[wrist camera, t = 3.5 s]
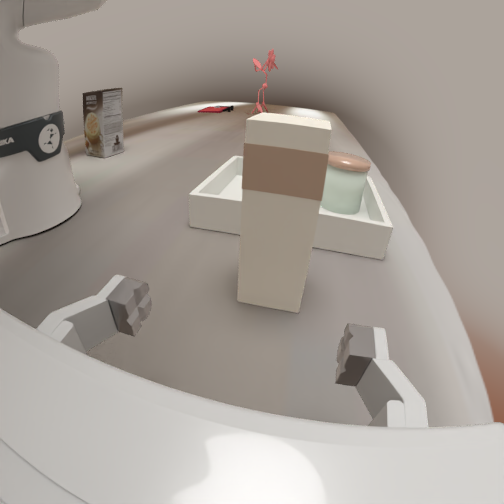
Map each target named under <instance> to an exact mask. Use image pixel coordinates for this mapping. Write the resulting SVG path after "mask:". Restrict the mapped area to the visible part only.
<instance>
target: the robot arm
mask: <svg viewBox="0 0 504 504" xmlns="http://www.w3.org/2000/svg"><path fill="white" fill-rule="evenodd" d="M106 1H107V0H0V245H1V244H3V243H6V242H8V241H10V240H13V239H16V238H20V237H25V236H29V235H33V234H36V233H39V232H42V231H44V230H47V229H49V228H51V227H53V226H55V225H57V224H59V223H61V222H63V221H64V220H66V219H67V218H69V217H70V216H72V215H73V214H74V213H75V212H76V211H77V210H78V209H79V208H80V206H81V203H82V201H81V198H80V196H79V192H80V189H79V185H78V184H75V180H74V176H73V172H72V168H71V163H70V159H69V155H68V150H67V147H66V145H65V144H64V143H63V139H62V138H63V135H64V119H63V112H62V111H60V106H59V64H58V61H57V59H56V57H55V56H54V55H53V53H51V52H50V51H48V50H46V49H44V48H41V47H37V46H33V45H29V44H25V43H23V42H21V41H20V40H19V39H18V33H19V31H20V30H21V29H23V28H25V27H28V26H32V25H36V24H41V23H46V22H51V21H56V20H62V19H68V18H71V17H74V16H78V15H81V14H85V13H88V12H90V11H95V10H98V9H99V8H100V7H101V6H102V5H103V4H104V3H105V2H106ZM148 291H149V287H148V284H147V283H146V282H143V281H139V280H136V279H132V278H129V277H124V276H121V275H115V276H114V277H113V278H112V279H111V280H110V281H109V282H108V283H107V284H106V285H105V286H104V288H103V289H102V290H101V291H100V292H99V293H98V294H97V295H96V296H94V295H93V296H90V297H88V298H85V299H83V300H80V301H78V302H75V303H73V304H71V305H68V306H66V307H63V308H61V309H58V310H56V311H53V312H51V313H50V314H49V315H48V316H47V317H46V318H45V320H44V321H43V322H42V323H41V324H40V325H39V326H38V327H37V329H34V328H33V327H31V326H29V325H27V324H26V323H24V322H22V321H21V320H19V319H17V318H15V317H14V316H12V315H11V314H9V313H7V312H6V311H4V310H2V309H1V308H0V504H504V424H503V423H499V422H494V423H485V424H476V425H465V426H450V427H428V419H427V411H426V403H425V400H424V399H423V398H422V396H421V395H420V394H419V393H418V391H417V390H416V389H415V388H414V386H413V385H412V384H411V383H410V381H409V380H408V379H407V378H406V376H405V375H404V374H403V373H402V371H401V370H400V369H399V368H398V367H397V365H396V364H395V363H394V362H393V361H391V360H389V353H388V345H387V338H386V331H385V329H384V328H378V327H369V326H362V325H355V324H347V325H346V327H345V330H344V337H342V338H341V340H340V343H339V346H338V350H337V362H338V367H337V369H336V382H335V384H342V385H348V386H355V387H356V389H357V391H358V393H359V395H360V396H361V398H362V400H363V402H364V404H365V405H366V407H367V409H368V411H369V413H370V415H371V417H372V418H373V420H372V421H371V423H370V424H369V425H368V426H361V425H349V424H339V423H330V422H322V421H314V420H307V419H300V418H294V417H288V416H282V415H277V414H271V413H266V412H261V411H256V410H252V409H247V408H243V407H238V406H234V405H230V404H226V403H222V402H218V401H214V400H211V399H207V398H203V397H200V396H196V395H193V394H190V393H186V392H183V391H180V390H177V389H174V388H171V387H167V386H164V385H162V384H159V383H156V382H153V381H150V380H147V379H144V378H142V377H139V376H136V375H134V374H131V373H128V372H126V371H123V370H121V369H118V368H116V367H113V366H111V365H109V364H106V363H104V362H102V361H99V360H97V359H95V358H93V357H90V356H88V355H87V353H86V352H87V351H88V350H90V349H92V348H93V347H95V346H96V345H98V344H100V343H101V342H103V341H105V340H106V339H108V338H110V337H111V336H113V335H115V334H116V333H118V332H121V333H124V334H128V335H131V336H135V335H136V333H137V332H138V331H139V329H140V328H141V321H143V320H145V319H147V317H148V316H149V314H150V311H151V306H152V302H151V298H150V297H149V295H148V294H147V293H148Z"/></svg>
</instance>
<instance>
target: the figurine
mask: <svg viewBox="0 0 504 504" xmlns="http://www.w3.org/2000/svg"><path fill="white" fill-rule="evenodd" d="M274 61H275V55H274V50H273V49H272V51H270V50H269V57H268V60H267V61H266V63H267V65H266V67H265V69H266V68H267V66H268V68H269V71H271V68H272V69H273V68H274V66H275V67H276V68H277V66H276V65H275V63H274ZM253 62H254V65H255V71H256V72H257V71H259V70H262V71H263V72H264V71H265V69H264V70H263V69H262V68H263V67H264V65H265V64H266V63H265V64H264V65H263V67H262V68H261V64H260V62H259V61H258V60H256V59H255V58H254V59H253ZM256 66H257V67H258V68H259V70H256ZM277 69H278V68H277ZM264 73H265V72H264ZM265 74H266V73H265ZM266 81H267V74H266ZM262 87H263V88H264V89H265V88H267V84H266V83H265V84H263V85H262ZM263 88H262V89H263ZM260 90H261V89H260ZM263 92H264V90H263ZM263 97H264V93H263ZM263 100H264V98H263ZM262 103H263V104H262V105H261V106H260V104H259V90H258V102H257V103H256V107H257V108H258V111H257V112H259V111H260V113H262V112H263V111H262V108H261V107H262V106H264V107H265V109H266V111H267V112H268V110H267V108H266V106H265V104H264V102H262ZM256 107H255V108H254V110H255V109H256ZM254 110H253V112H254ZM253 112H252V114H253ZM246 114H248V113H246ZM278 114H279V113H278Z"/></svg>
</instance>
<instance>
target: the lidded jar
mask: <svg viewBox="0 0 504 504" xmlns="http://www.w3.org/2000/svg"><path fill="white" fill-rule="evenodd" d="M370 165H371V163H370V162H369V161H368V160H366V159H364V158H362V157H359V156H356V155H352V154H348V153H343V152H334V151H329V158H328V165H327V171H326V178H325V184H324V190H323V196H322V201H321V203H320V206H321V207H322V208H324V209H326V210H328V211H331V212H334V213H339V214H347V215H350V214H356V213H358V212H359V210H360V205H361V201H362V196H363V192H364V187H365V182H366V178H367V173H368V171H369V170H370Z"/></svg>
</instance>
